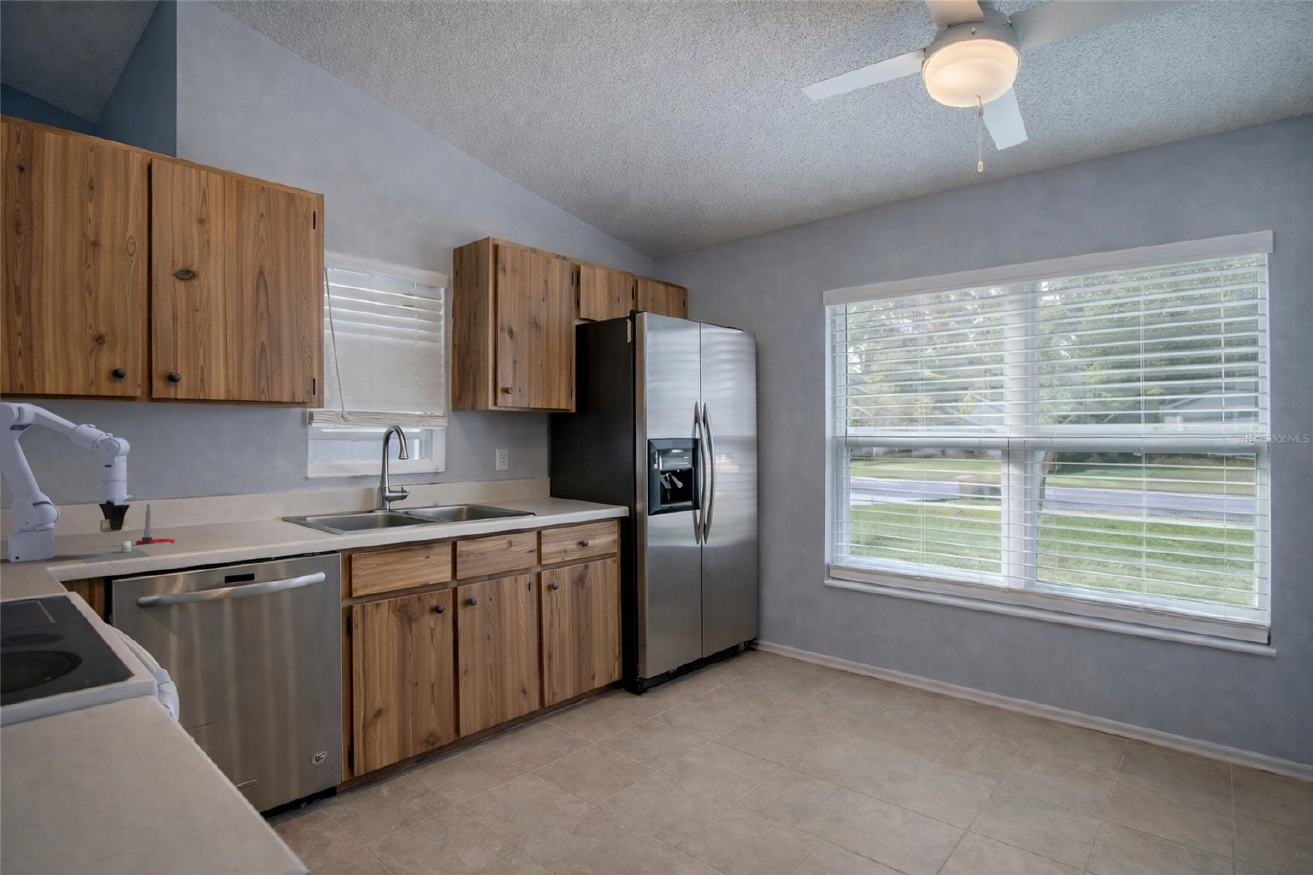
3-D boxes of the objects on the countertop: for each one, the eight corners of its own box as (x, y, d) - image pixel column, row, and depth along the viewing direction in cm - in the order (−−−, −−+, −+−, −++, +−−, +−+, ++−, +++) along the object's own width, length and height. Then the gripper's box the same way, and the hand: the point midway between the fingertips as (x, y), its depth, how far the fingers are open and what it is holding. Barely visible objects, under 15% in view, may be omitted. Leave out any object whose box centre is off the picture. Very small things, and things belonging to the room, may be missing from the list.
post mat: (87, 566, 182) (87, 551, 182) (76, 558, 193) (76, 544, 193) (151, 559, 193) (151, 545, 193) (137, 552, 204) (137, 538, 204)
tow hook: (158, 541, 225) (132, 545, 216) (159, 502, 225) (134, 504, 216) (181, 542, 224) (156, 546, 214) (182, 503, 224) (157, 504, 215)
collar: (103, 532, 189) (103, 521, 189) (99, 530, 193) (99, 520, 193) (128, 530, 193) (128, 519, 193) (124, 528, 197) (124, 518, 197)
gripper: (137, 481, 191) (137, 529, 191) (126, 478, 201) (126, 524, 201) (104, 482, 186) (105, 532, 186) (95, 479, 196) (95, 527, 196)
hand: (114, 528), depth 193 cm, fingers closed on collar, 6 cm apart
